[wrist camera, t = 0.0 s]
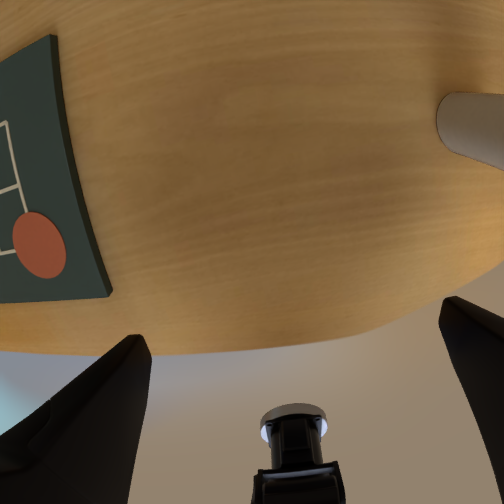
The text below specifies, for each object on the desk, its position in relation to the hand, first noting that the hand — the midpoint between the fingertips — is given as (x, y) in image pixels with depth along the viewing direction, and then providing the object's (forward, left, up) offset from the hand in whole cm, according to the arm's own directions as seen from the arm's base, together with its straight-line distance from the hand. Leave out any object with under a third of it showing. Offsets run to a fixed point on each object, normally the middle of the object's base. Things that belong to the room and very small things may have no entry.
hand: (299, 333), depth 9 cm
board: (+5, +28, -13) cm, 31 cm away
